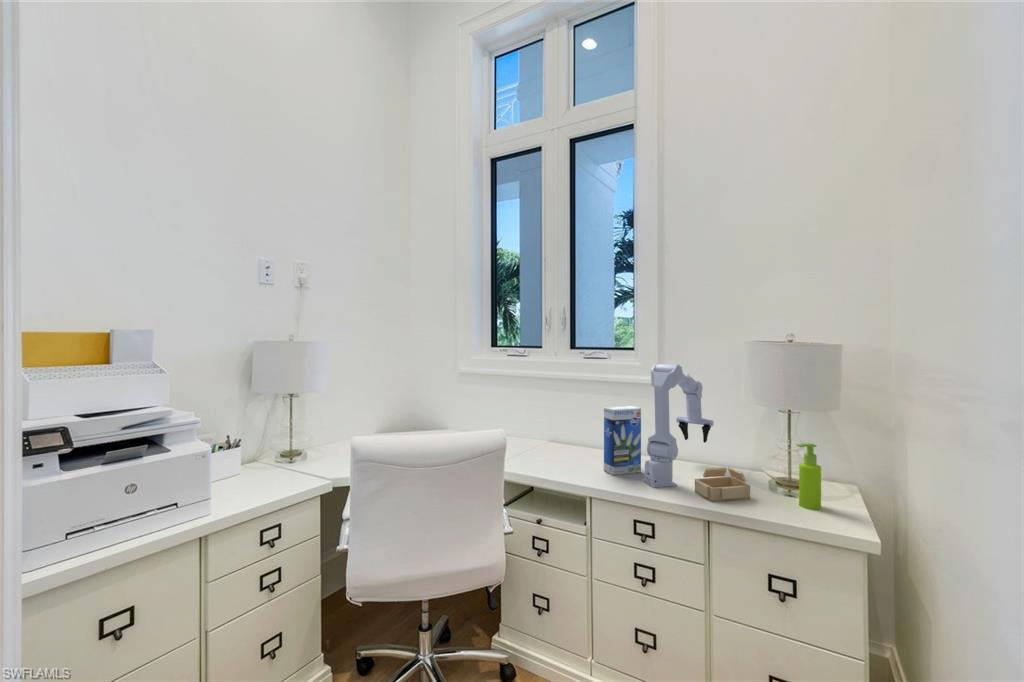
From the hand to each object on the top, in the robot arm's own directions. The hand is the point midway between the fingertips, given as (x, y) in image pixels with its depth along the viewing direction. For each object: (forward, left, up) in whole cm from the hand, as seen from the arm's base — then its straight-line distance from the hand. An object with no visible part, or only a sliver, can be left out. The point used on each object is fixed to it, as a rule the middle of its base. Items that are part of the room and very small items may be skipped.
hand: (695, 440), depth 192 cm
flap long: (-12, -29, -6) cm, 32 cm away
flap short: (-5, -34, -6) cm, 35 cm away
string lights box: (-34, -1, -11) cm, 35 cm away
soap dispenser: (+8, -48, -11) cm, 50 cm away
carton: (-12, -34, -11) cm, 37 cm away
